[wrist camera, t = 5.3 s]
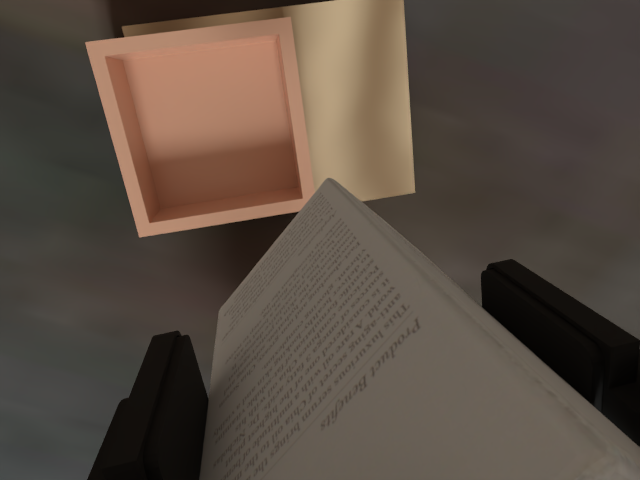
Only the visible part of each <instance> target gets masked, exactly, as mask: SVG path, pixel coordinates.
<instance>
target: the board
mask: <svg viewBox="0 0 640 480" xmlns="http://www.w3.org/2000/svg"><path fill="white" fill-rule="evenodd" d="M285 17H291V22H292V29H293V37H294V44H295V51H296V59H297V66H298V73H299V81H300V88H301V95H302V103H303V110H304V117H305V125H306V132H307V139H308V147H309V154H310V161H311V169H312V176H313V183H314V191H315V192H316V191H317V190H318V188H319V187H320V186H321V185H322V183H323V182H324V181H325V180H326V179H327V178H332V179H334V180H336V181H337V182H338V183H339V184H341V185H342V186H343V187H344V188H346V189H347V190H348V191H349V192H350V193H352V194H353V195H354V196H355V197H356V198H358V199H359V200H360V201H367V200H373V199H379V198H385V197H391V196H398V195H404V194H410V193H415V183H414V166H413V149H412V133H411V116H410V99H409V83H408V66H407V50H406V33H405V16H404V0H335V1H326V2H318V3H310V4H302V5H294V6H285V7H277V8H269V9H261V10H252V11H244V12H236V13H228V14H220V15H211V16H203V17H195V18H187V19H178V20H170V21H162V22H154V23H146V24H137V25H129V26H122V30H123V34H124V37H132V36H140V35H148V34H156V33H164V32H172V31H180V30H188V29H196V28H204V27H212V26H221V25H229V24H237V23H245V22H253V21H261V20H269V19H277V18H285ZM292 213H293V212H292ZM286 214H287V213H286ZM280 215H281V214H280ZM274 216H275V215H274ZM268 217H269V216H268ZM249 220H250V219H249ZM243 221H244V220H243ZM237 222H238V221H237ZM231 223H232V222H231ZM225 224H226V223H225ZM206 227H207V226H206ZM200 228H201V227H200ZM194 229H195V228H194ZM188 230H189V229H188ZM182 231H183V230H182Z"/></svg>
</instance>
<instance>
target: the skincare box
mask: <svg viewBox="0 0 640 480" xmlns="http://www.w3.org/2000/svg"><path fill="white" fill-rule="evenodd" d="M199 480H640V447H639V446H638V445H637V444H635V443H634V442H633V441H632V440H631V439H630V438H629V437H628V436H626V435H625V434H624V433H623V432H622V431H621V430H620V429H619V428H617V427H616V426H615V425H614V424H613V423H612V422H611V421H610V420H608V419H607V418H606V417H605V416H604V415H603V414H602V413H601V412H599V411H598V410H597V409H596V408H595V407H594V406H593V405H592V404H590V403H589V402H588V401H587V400H586V399H585V398H584V397H583V396H581V395H580V394H579V393H578V392H577V391H576V390H575V389H574V388H572V387H571V386H570V385H569V384H568V383H567V382H566V381H565V380H564V379H562V378H561V377H560V376H559V375H558V374H557V373H555V372H554V371H553V370H552V369H551V368H550V367H549V366H547V365H546V364H545V363H544V362H543V361H542V360H541V359H540V358H539V357H537V356H536V355H535V354H534V353H533V352H532V351H531V350H530V349H529V348H528V347H526V346H525V345H524V344H523V343H522V342H521V341H520V340H518V339H517V338H516V337H515V336H514V335H513V334H512V333H510V332H509V331H508V330H507V329H506V328H505V327H504V326H503V325H501V324H500V323H499V322H498V321H497V320H496V319H495V318H494V317H492V316H491V315H490V314H489V313H488V312H487V311H486V310H485V309H484V308H482V307H481V306H480V305H479V304H478V303H477V302H476V301H475V300H473V299H472V298H471V297H470V296H469V295H468V294H467V293H466V292H465V291H463V290H462V289H461V288H460V287H459V286H458V285H457V284H456V283H455V282H454V281H452V280H451V279H450V278H449V277H448V276H447V275H446V274H445V273H444V272H442V271H441V270H440V269H439V268H438V267H437V266H436V265H435V264H434V263H432V262H431V261H430V260H429V259H428V258H427V257H426V256H425V255H424V254H423V253H422V252H420V251H419V250H418V249H417V248H416V247H415V246H413V245H412V244H411V243H410V242H409V241H408V240H406V239H405V238H404V237H403V236H402V235H401V234H400V233H398V232H397V231H396V230H395V229H394V228H392V227H391V226H390V225H389V224H388V223H387V222H385V221H384V220H383V219H382V218H381V217H379V216H378V215H377V214H376V213H375V212H373V211H372V210H371V209H370V208H369V207H367V206H366V205H365V204H364V203H362V202H361V201H360V200H359V199H358V198H356V197H355V196H354V195H353V194H352V193H350V192H349V191H348V190H347V189H346V188H344V187H343V186H342V185H341V184H339V183H338V182H337V181H336V180H334V179H332V178H327V179H326V180H325V181H324V182H323V183H322V185H321V186H320V187H319V188H318V190H317V191H316V192H315V193H314V194H313V196H312V197H311V198H310V199H309V201H308V202H307V203H306V204H305V205H304V207H303V208H302V209H301V210H300V212H299V213H298V214H297V215H296V216H295V218H294V219H293V220H292V221H291V222H290V224H289V225H288V226H287V227H286V229H285V230H284V231H283V232H282V234H281V235H280V236H279V237H278V238H277V240H276V241H275V242H274V243H273V245H272V246H271V247H270V248H269V250H268V251H267V252H266V253H265V255H264V256H263V257H262V258H261V259H260V261H259V262H258V263H257V264H256V265H255V267H254V268H253V269H252V270H251V272H250V273H249V274H248V275H247V277H246V278H245V279H244V280H243V282H242V283H241V284H240V285H239V286H238V288H237V289H236V290H235V291H234V293H233V294H232V295H231V296H230V297H229V299H228V300H227V301H226V302H225V304H224V305H223V306H222V307H221V309H220V310H219V315H218V323H217V331H216V340H215V348H214V356H213V366H212V374H211V383H210V392H209V401H208V411H207V419H206V428H205V436H204V443H203V453H202V461H201V469H200V477H199Z"/></svg>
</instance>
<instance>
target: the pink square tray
mask: <svg viewBox="0 0 640 480" xmlns="http://www.w3.org/2000/svg"><path fill="white" fill-rule="evenodd" d="M85 44H86V47H87V51H88V55H89V58H90V62H91V65H92V69H93V73H94V76H95V80H96V83H97V87H98V90H99V94H100V98H101V101H102V105H103V108H104V112H105V116H106V119H107V123H108V126H109V130H110V133H111V137H112V141H113V144H114V148H115V151H116V155H117V159H118V162H119V166H120V169H121V173H122V176H123V180H124V184H125V187H126V191H127V194H128V198H129V202H130V205H131V209H132V212H133V216H134V219H135V223H136V227H137V230H138V234H139V237H145V236H151V235H157V234H163V233H170V232H176V231H182V230H188V229H194V228H200V227H206V226H213V225H219V224H225V223H231V222H237V221H243V220H249V219H256V218H262V217H268V216H274V215H280V214H286V213H292V212H299V211H300V210H301V209H302V208H303V207H304V205H305V204H306V203H307V202H308V201H309V199H310V198H311V197H312V196H313V194H314V193H315V191H314V183H313V176H312V169H311V161H310V154H309V147H308V139H307V132H306V125H305V117H304V110H303V103H302V95H301V88H300V81H299V73H298V66H297V59H296V51H295V44H294V37H293V29H292V22H291V17H285V18H277V19H269V20H261V21H253V22H245V23H237V24H229V25H221V26H212V27H204V28H196V29H188V30H180V31H172V32H164V33H156V34H148V35H140V36H132V37H124V38H116V39H107V40H99V41H91V42H85Z"/></svg>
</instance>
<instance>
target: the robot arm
mask: <svg viewBox="0 0 640 480" xmlns="http://www.w3.org/2000/svg"><path fill="white" fill-rule="evenodd" d="M481 290H482V308H484V309H485V310H486V311H487V312H488V313H489V314H490V315H491V316H492V317H494V318H495V319H496V320H497V321H498V322H499V323H500V324H501V325H503V326H504V327H505V328H506V329H507V330H508V331H509V332H510V333H512V334H513V335H514V336H515V337H516V338H517V339H518V340H520V341H521V342H522V343H523V344H524V345H525V346H526V347H528V348H529V349H530V350H531V351H532V352H533V353H534V354H535V355H536V356H537V357H539V358H540V359H541V360H542V361H543V362H544V363H545V364H546V365H547V366H549V367H550V368H551V369H552V370H553V371H554V372H555V373H557V374H558V375H559V376H560V377H561V378H562V379H564V380H565V381H566V382H567V383H568V384H569V385H570V386H571V387H572V388H574V389H575V390H576V391H577V392H578V393H579V394H580V395H581V396H583V397H584V398H585V399H586V400H587V401H588V402H589V403H590V404H592V405H593V406H594V407H595V408H596V409H597V410H598V411H599V412H601V413H602V414H603V415H604V416H605V417H606V418H607V419H608V420H610V421H611V422H612V423H613V424H614V425H615V426H616V427H617V428H619V429H620V430H621V431H622V432H623V433H624V434H625V435H626V436H628V437H629V438H630V439H631V440H632V441H633V442H634V443H635V444H637V445H638V446H639V447H640V349H639V348H640V340H639V339H637V338H635V337H634V336H632V335H631V334H629V333H628V332H626V331H624V330H623V329H621V328H620V327H618V326H617V325H615V324H613V323H612V322H610V321H609V320H607V319H606V318H604V317H602V316H601V315H599V314H598V313H596V312H595V311H593V310H592V309H590V308H588V307H587V306H585V305H584V304H582V303H581V302H579V301H577V300H576V299H574V298H573V297H571V296H570V295H568V294H566V293H565V292H563V291H562V290H560V289H559V288H557V287H555V286H554V285H552V284H551V283H549V282H548V281H546V280H544V279H543V278H541V277H540V276H538V275H537V274H535V273H534V272H532V271H530V270H529V269H527V268H526V267H524V266H523V265H521V264H519V263H518V262H516V261H515V260H512V259H510V260H505V261H500V262H496V263H491V264H489V265H488V266H487V269H486V270H485V271H483V272H482V274H481ZM208 401H209V400H208V397H207V393H206V390H205V387H204V383H203V380H202V376H201V373H200V370H199V366H198V363H197V360H196V356H195V353H194V350H193V346H192V343H191V340H190V337H189V336H188V335H184V336H181V334H180V332H179V331H174V332H169V333H164V334H160V335H155V336H153V338H152V340H151V342H150V345H149V347H148V350H147V353H146V355H145V358H144V360H143V363H142V365H141V368H140V370H139V373H138V376H137V378H136V381H135V383H134V386H133V388H132V391H131V393H130V396H129V398H125V399H123V400H121V402H120V403H119V405H118V407H117V409H116V412H115V414H114V417H113V419H112V421H111V424H110V426H109V429H108V431H107V434H106V436H105V438H104V441H103V443H102V446H101V448H100V450H99V453H98V455H97V458H96V460H95V462H94V465H93V467H92V470H91V472H90V474H89V477H88V479H87V480H199V477H200V469H201V461H202V453H203V443H204V436H205V428H206V419H207V411H208Z"/></svg>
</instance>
